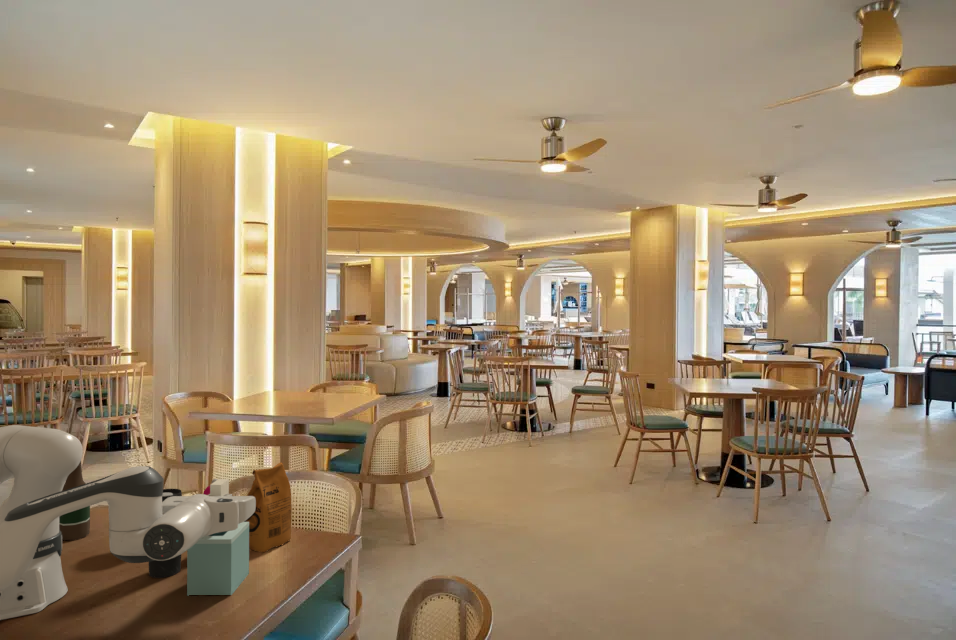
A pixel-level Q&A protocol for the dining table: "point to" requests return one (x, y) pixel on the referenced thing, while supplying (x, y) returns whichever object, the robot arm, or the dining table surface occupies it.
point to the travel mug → (171, 565)
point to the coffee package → (270, 509)
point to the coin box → (218, 562)
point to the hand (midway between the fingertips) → (221, 497)
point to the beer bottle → (75, 512)
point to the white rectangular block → (219, 487)
